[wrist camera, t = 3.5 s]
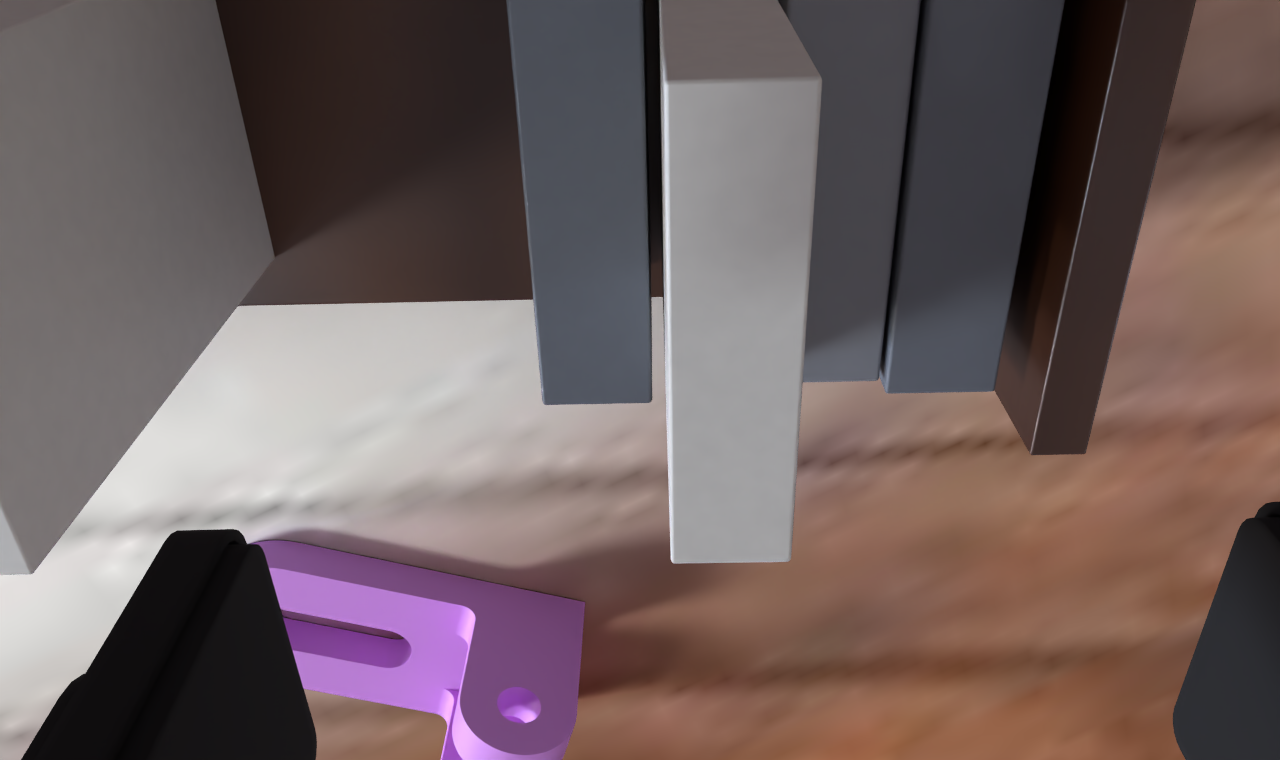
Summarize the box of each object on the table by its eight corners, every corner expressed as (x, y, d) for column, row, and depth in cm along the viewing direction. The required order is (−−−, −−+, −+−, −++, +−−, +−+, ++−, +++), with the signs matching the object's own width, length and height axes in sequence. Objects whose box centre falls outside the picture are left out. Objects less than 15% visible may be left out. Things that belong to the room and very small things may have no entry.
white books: (204, -52, 24) (-177, 102, 13) (275, 257, 28) (33, 575, 17) (17, -46, 24) (-521, 110, 13) (115, 261, 28) (-230, 580, 17)
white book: (741, -67, 24) (823, 76, 13) (734, 247, 28) (791, 563, 17) (656, -64, 24) (663, 80, 13) (661, 249, 28) (670, 565, 17)
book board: (1035, -151, 24) (1225, -113, 16) (969, 273, 30) (1086, 455, 22) (-49, -119, 24) (-380, -66, 17) (90, 291, 30) (-108, 476, 22)
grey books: (966, -97, 23) (1080, -49, 17) (921, 260, 28) (997, 397, 22) (540, -85, 24) (502, -33, 18) (565, 267, 28) (542, 406, 22)
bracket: (585, 601, 36) (573, 764, 30) (550, 705, 39) (533, 873, 33) (216, 525, 35) (127, 682, 29) (208, 639, 37) (124, 803, 31)
